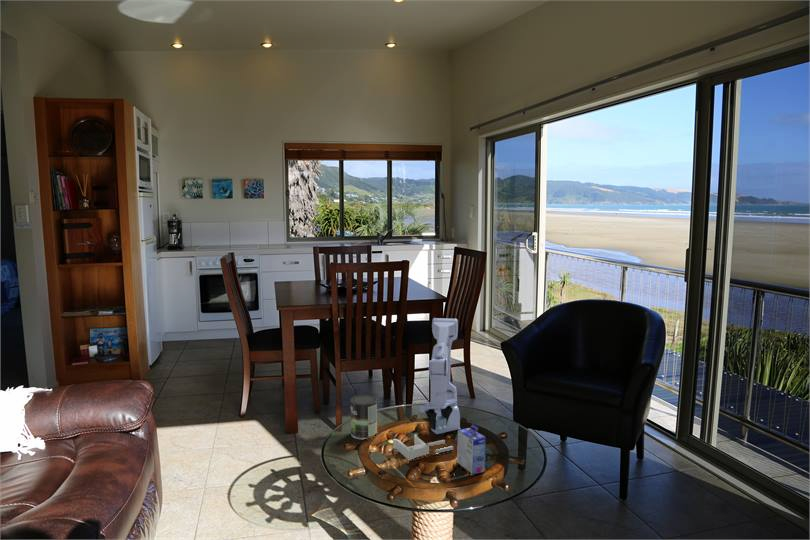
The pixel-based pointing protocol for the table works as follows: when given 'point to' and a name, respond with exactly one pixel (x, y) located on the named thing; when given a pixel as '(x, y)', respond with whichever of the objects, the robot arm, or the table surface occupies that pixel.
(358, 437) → the coffee can
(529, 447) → the table surface
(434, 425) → the robot arm
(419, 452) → the port
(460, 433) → the ink cartridge box
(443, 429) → the plug
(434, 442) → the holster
